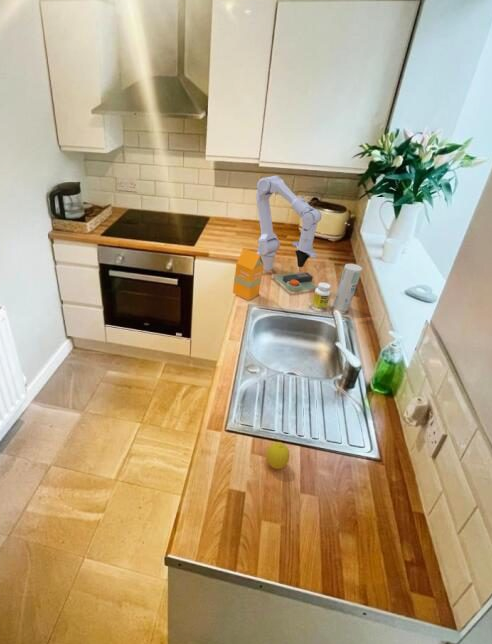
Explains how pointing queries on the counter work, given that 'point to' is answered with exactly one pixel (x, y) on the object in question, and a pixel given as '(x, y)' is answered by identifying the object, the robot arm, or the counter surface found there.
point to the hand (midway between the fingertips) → (300, 266)
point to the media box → (295, 288)
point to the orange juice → (248, 275)
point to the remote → (298, 277)
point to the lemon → (277, 455)
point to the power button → (294, 282)
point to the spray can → (347, 287)
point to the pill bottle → (321, 296)
